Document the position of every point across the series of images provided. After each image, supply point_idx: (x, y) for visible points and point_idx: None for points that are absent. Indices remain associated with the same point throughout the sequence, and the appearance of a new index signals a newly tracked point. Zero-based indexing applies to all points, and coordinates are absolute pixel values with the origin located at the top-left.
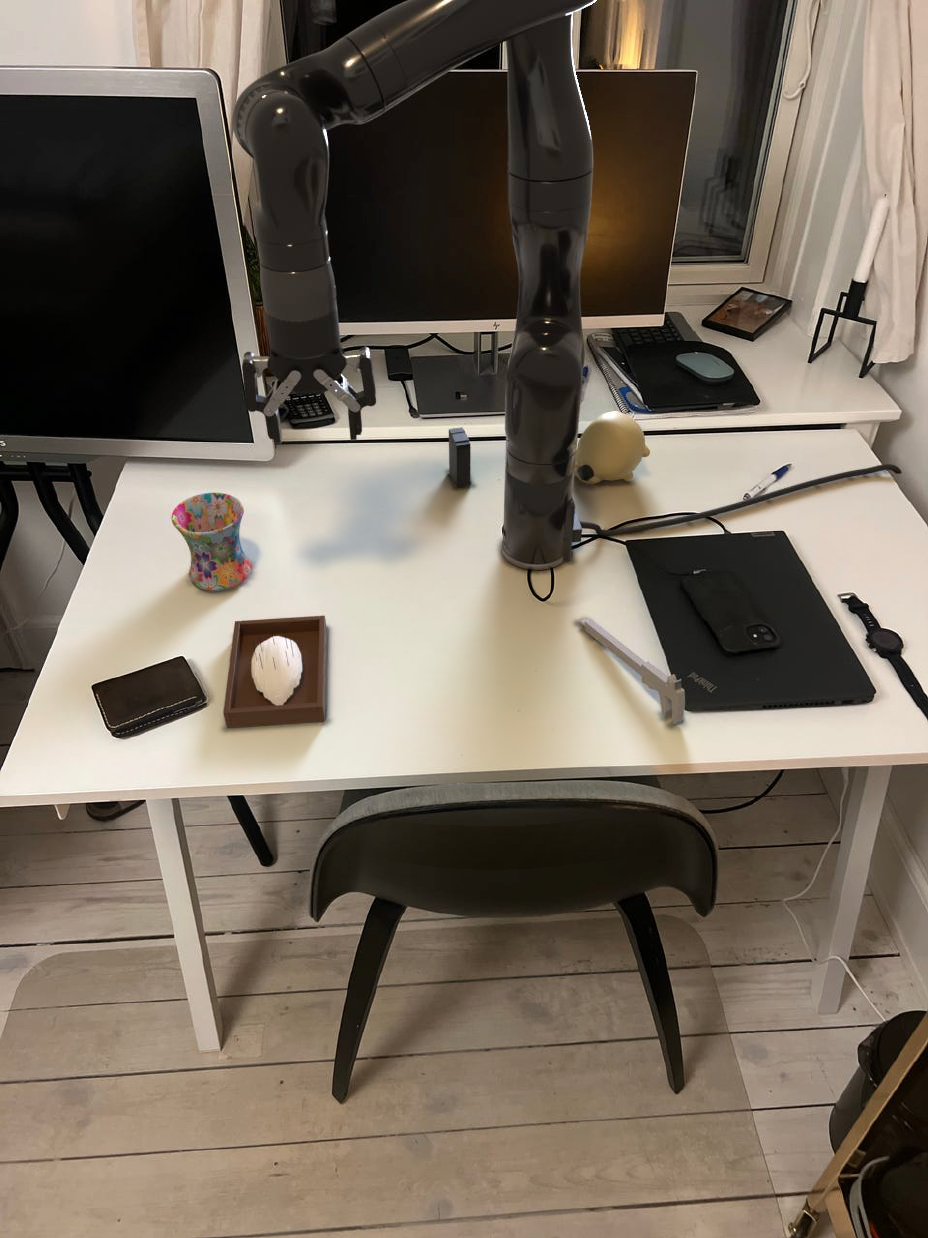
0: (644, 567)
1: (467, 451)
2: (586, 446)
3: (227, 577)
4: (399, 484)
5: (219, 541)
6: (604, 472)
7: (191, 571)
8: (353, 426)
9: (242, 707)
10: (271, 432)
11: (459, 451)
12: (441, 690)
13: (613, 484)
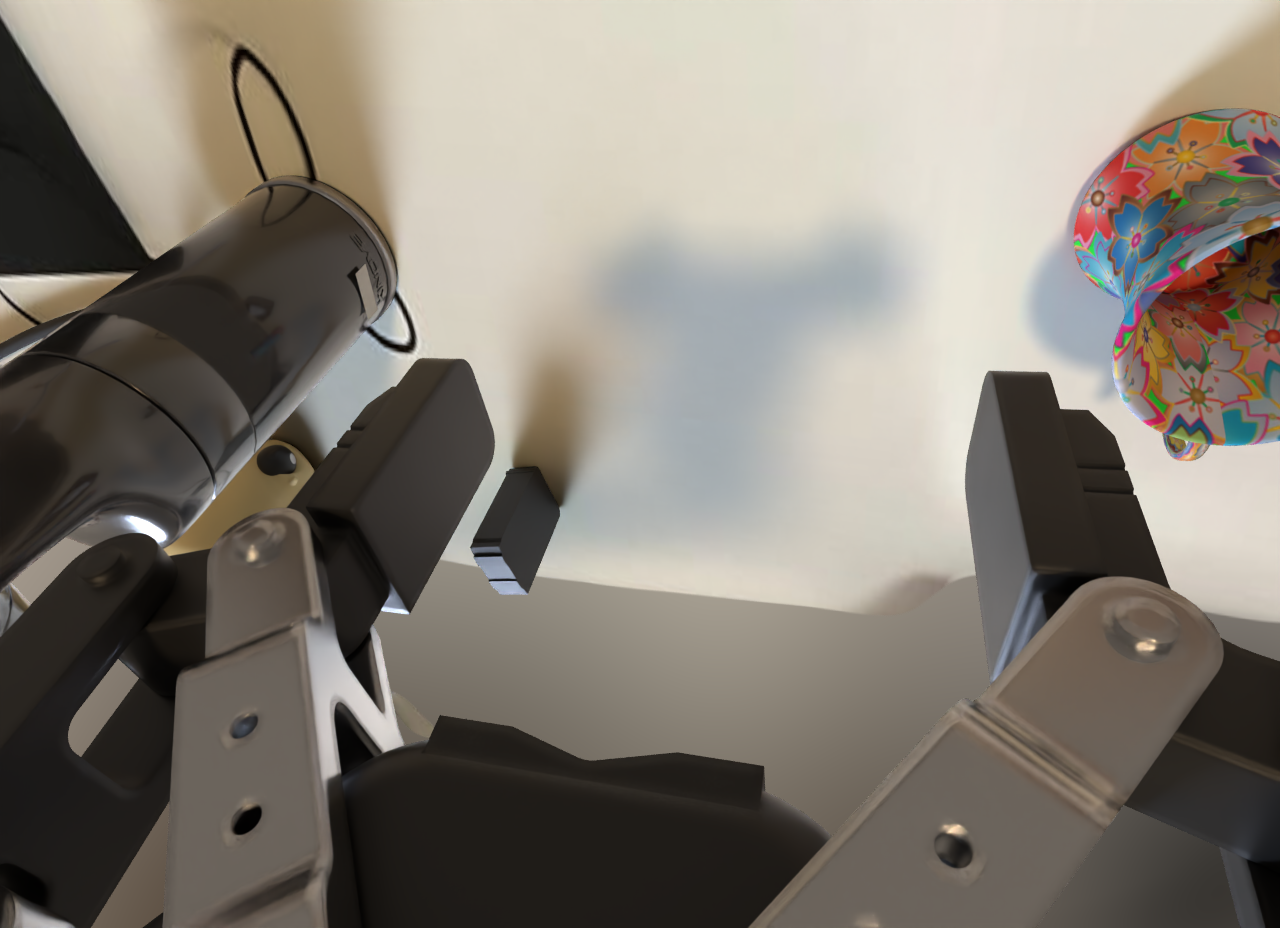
0: (78, 176)
1: (483, 532)
2: (254, 509)
3: (1186, 144)
4: (660, 493)
5: (1244, 210)
6: None
7: None
8: (383, 422)
9: None
10: (1079, 453)
11: (498, 533)
12: None
13: None
